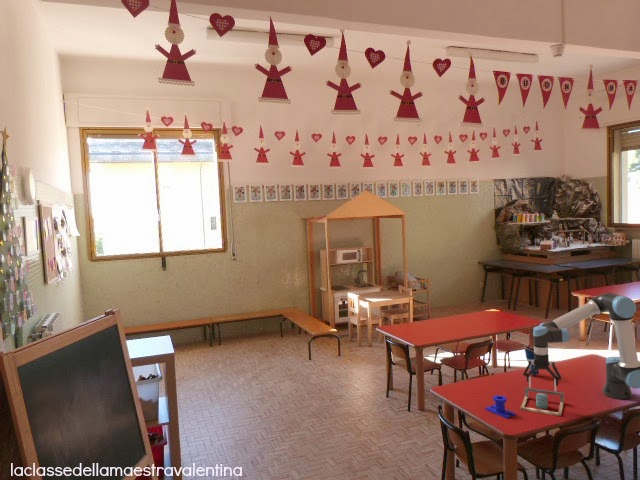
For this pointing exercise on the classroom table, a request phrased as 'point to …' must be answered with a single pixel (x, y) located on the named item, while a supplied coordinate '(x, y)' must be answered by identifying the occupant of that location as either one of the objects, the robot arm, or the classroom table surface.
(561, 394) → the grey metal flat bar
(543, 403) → the grooved blue cylinder
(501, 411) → the mount
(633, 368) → the robot arm
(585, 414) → the classroom table surface
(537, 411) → the shelf frame
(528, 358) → the figurine
